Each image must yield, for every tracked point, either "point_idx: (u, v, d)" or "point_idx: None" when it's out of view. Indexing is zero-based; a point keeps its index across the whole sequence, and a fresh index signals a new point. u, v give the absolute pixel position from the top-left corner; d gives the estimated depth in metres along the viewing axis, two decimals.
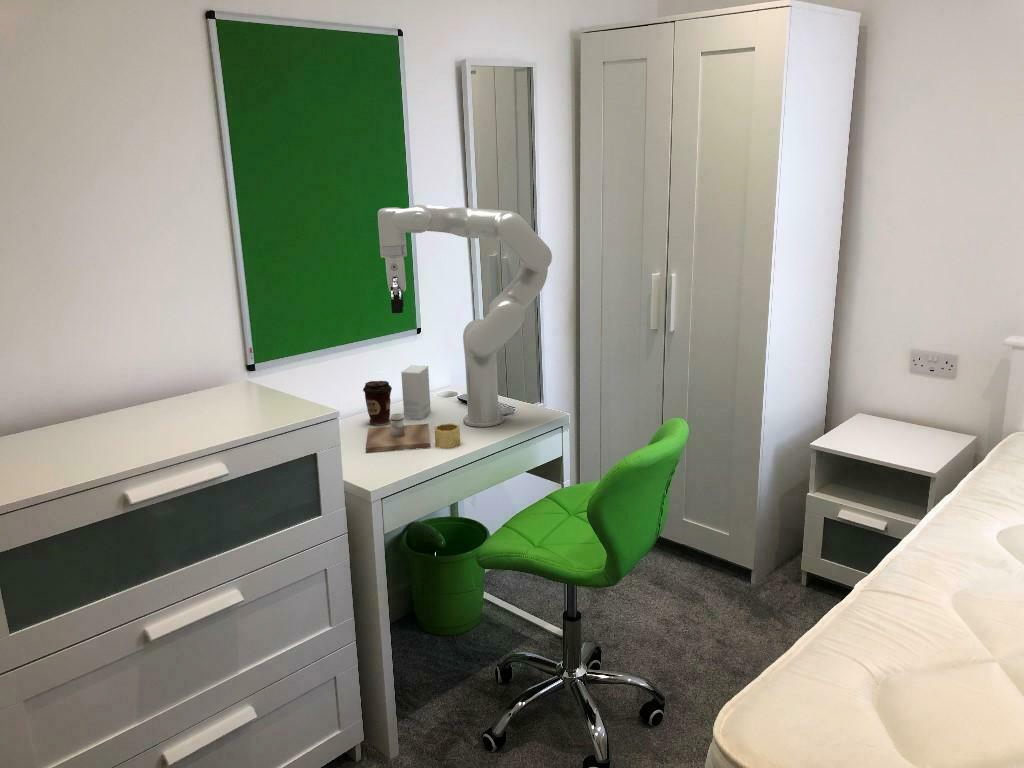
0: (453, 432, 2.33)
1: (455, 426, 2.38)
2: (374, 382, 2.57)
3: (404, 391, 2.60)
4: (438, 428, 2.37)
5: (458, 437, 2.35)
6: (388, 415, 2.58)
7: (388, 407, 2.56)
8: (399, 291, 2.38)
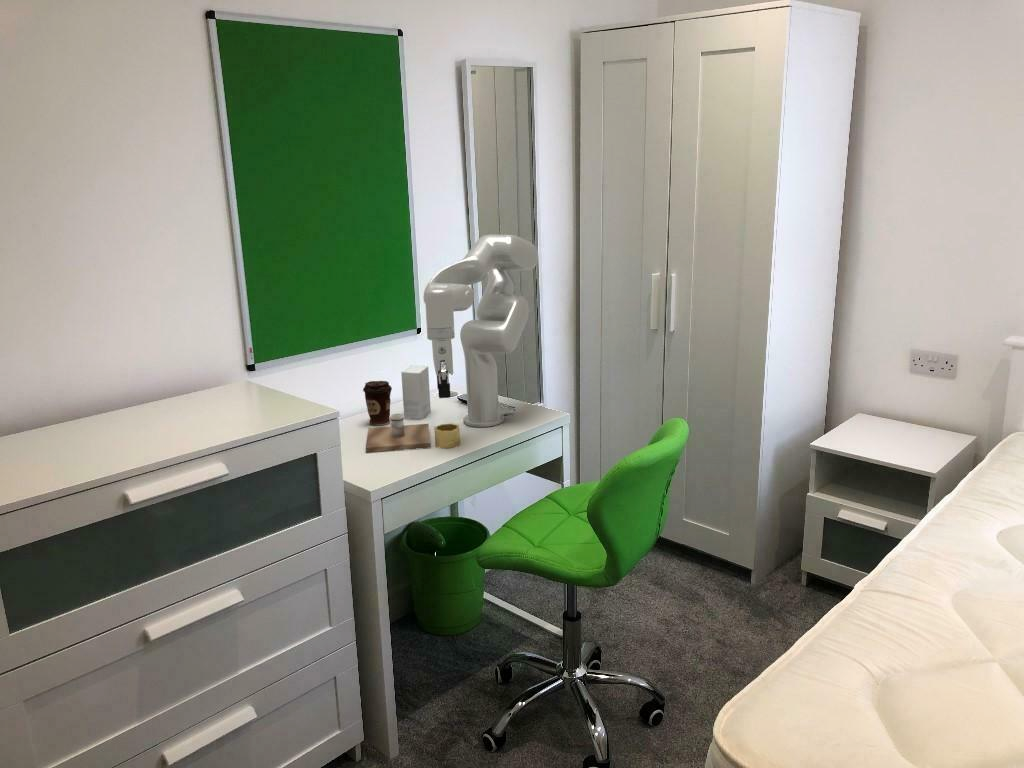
0: (453, 432, 2.33)
1: (455, 426, 2.38)
2: (374, 382, 2.57)
3: (404, 391, 2.60)
4: (438, 428, 2.37)
5: (458, 437, 2.35)
6: (388, 415, 2.58)
7: (388, 407, 2.56)
8: (447, 375, 2.26)
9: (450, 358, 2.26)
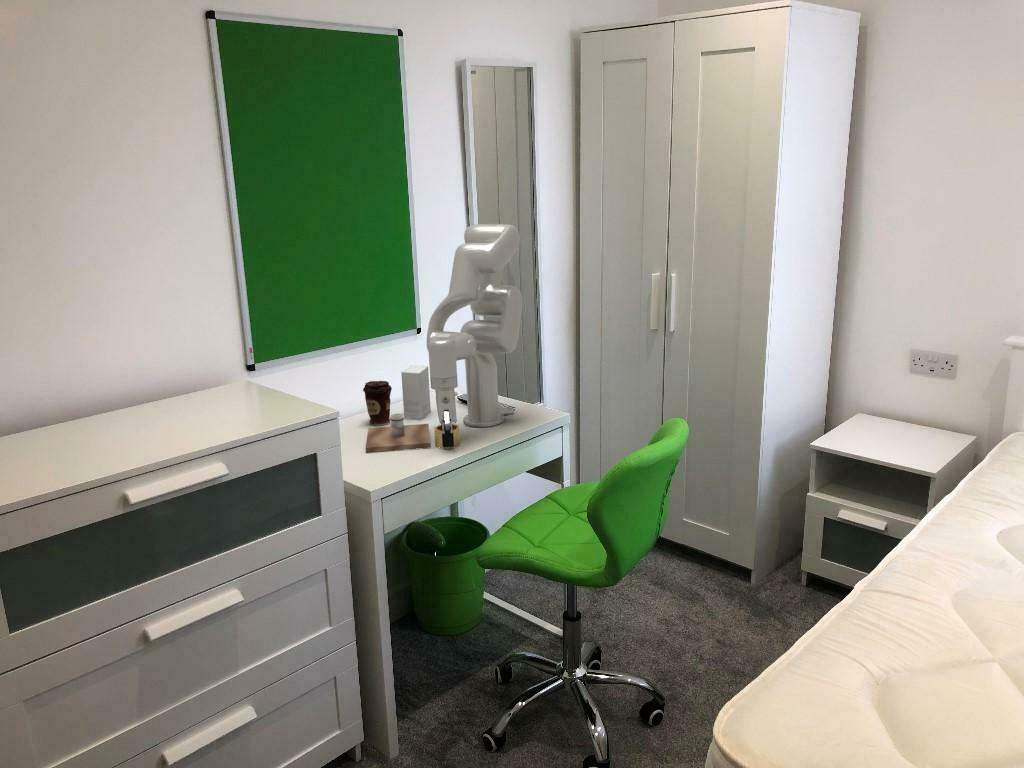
0: (453, 432, 2.33)
1: (455, 426, 2.37)
2: (374, 382, 2.57)
3: (404, 391, 2.60)
4: (438, 428, 2.37)
5: (458, 437, 2.35)
6: (388, 415, 2.58)
7: (388, 407, 2.56)
8: (450, 425, 2.31)
9: (453, 407, 2.29)
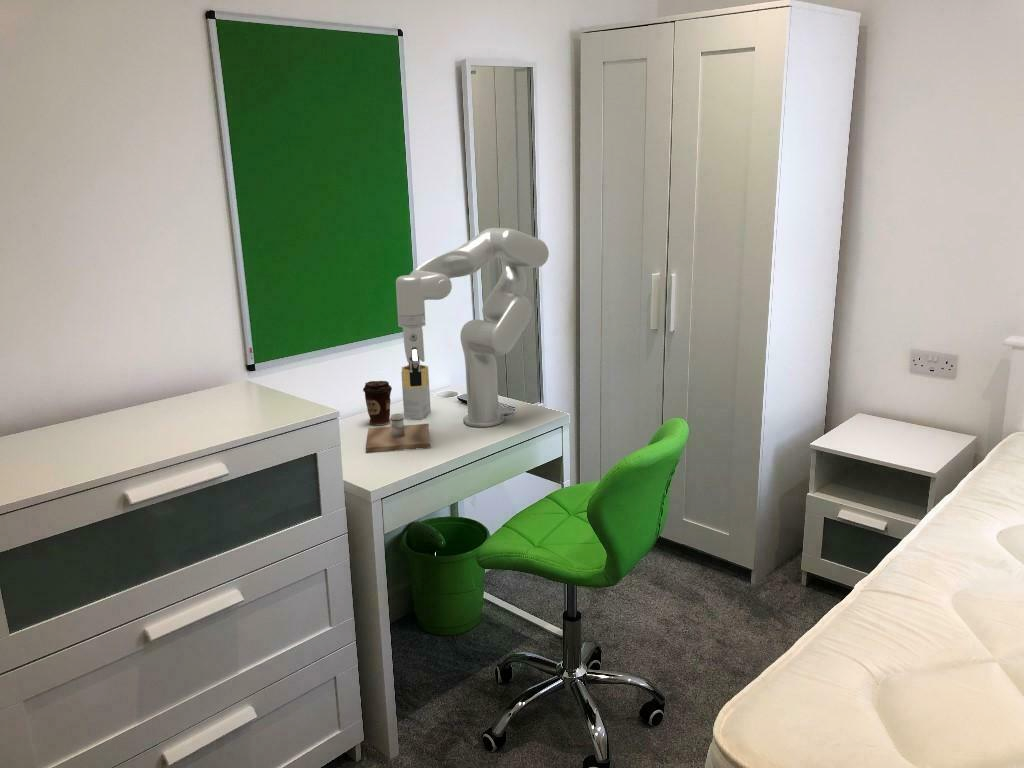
0: (421, 371, 2.31)
1: (423, 367, 2.36)
2: (374, 382, 2.57)
3: (404, 391, 2.60)
4: (405, 368, 2.35)
5: (426, 377, 2.33)
6: (388, 415, 2.58)
7: (388, 407, 2.56)
8: (418, 363, 2.29)
9: (421, 345, 2.28)
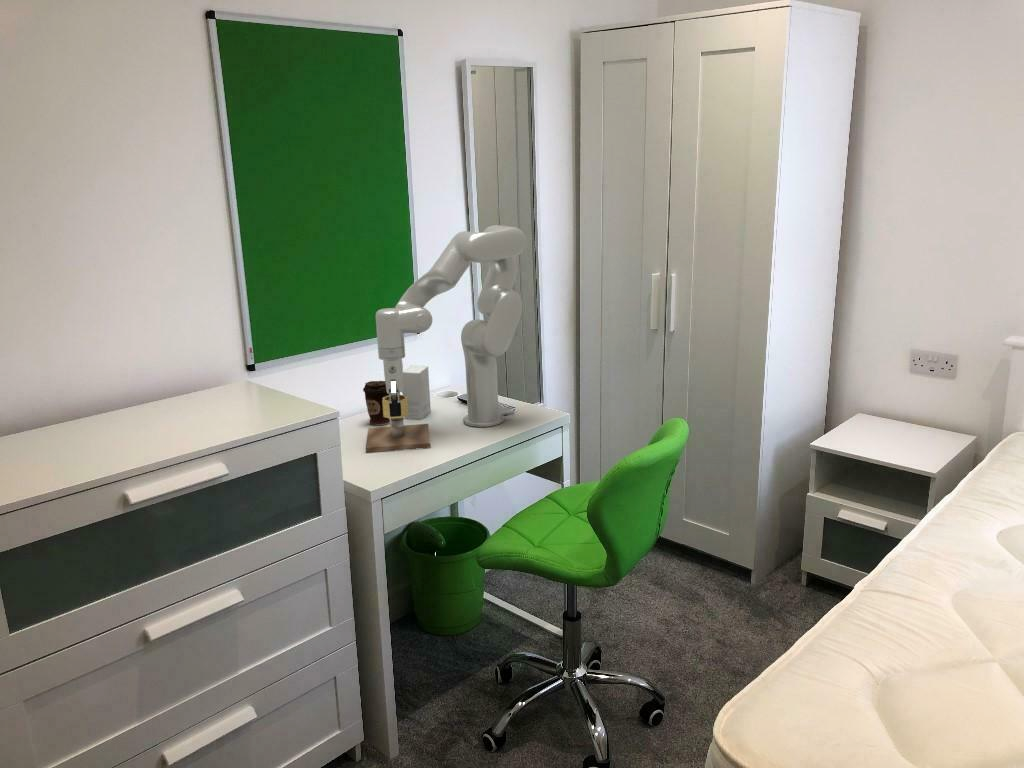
0: None
1: (403, 397, 2.41)
2: (374, 382, 2.57)
3: (404, 391, 2.60)
4: (386, 399, 2.40)
5: (406, 407, 2.38)
6: None
7: None
8: (397, 395, 2.34)
9: (400, 377, 2.33)
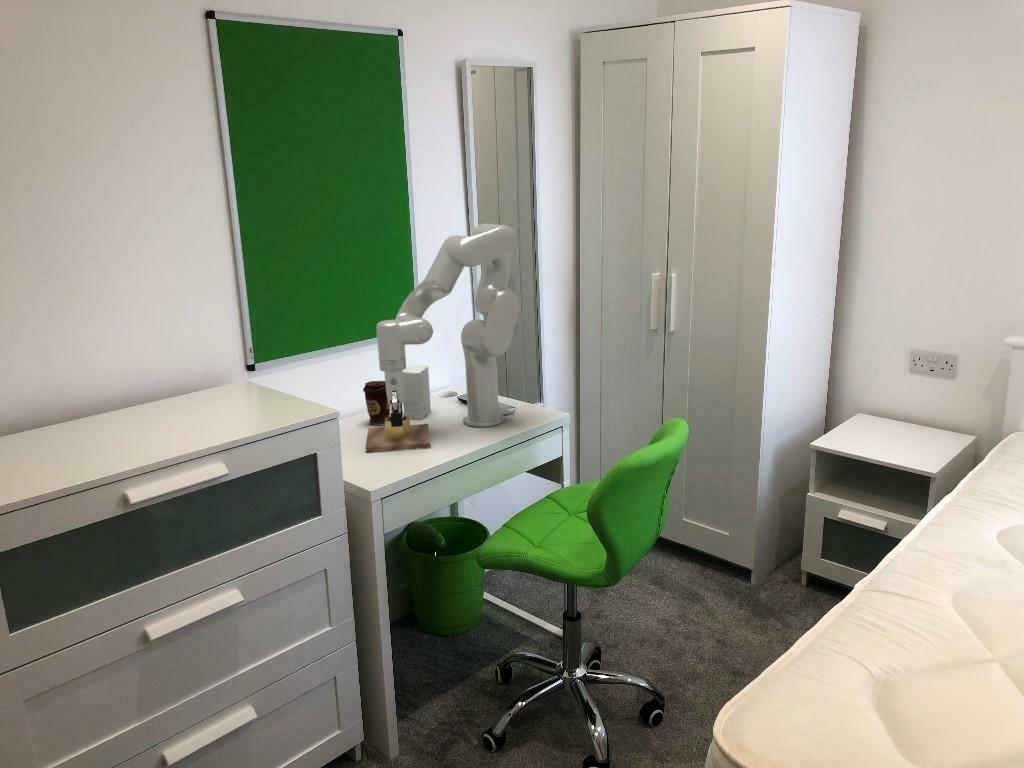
0: (403, 423, 2.38)
1: (406, 417, 2.42)
2: (374, 382, 2.57)
3: None
4: (389, 419, 2.42)
5: (408, 428, 2.40)
6: (388, 415, 2.58)
7: (388, 407, 2.56)
8: (398, 405, 2.34)
9: (401, 388, 2.33)
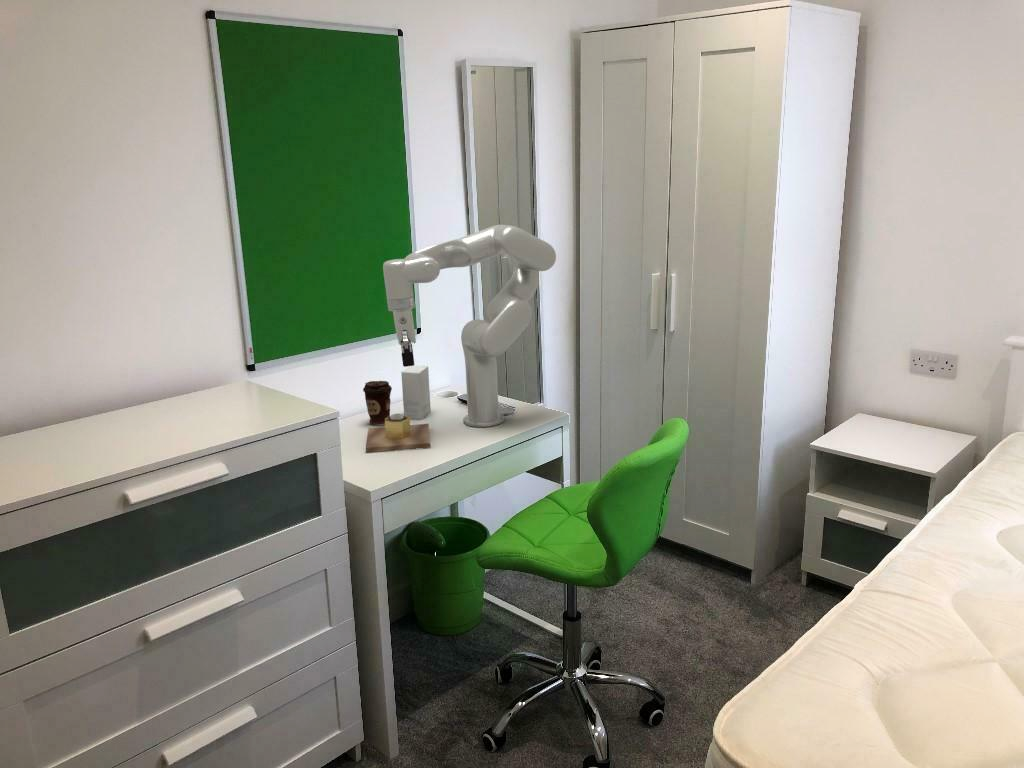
0: (403, 423, 2.38)
1: (406, 417, 2.42)
2: (374, 382, 2.57)
3: (404, 391, 2.60)
4: (389, 419, 2.42)
5: (408, 428, 2.40)
6: (388, 415, 2.58)
7: (388, 407, 2.56)
8: (409, 344, 2.34)
9: (411, 327, 2.33)
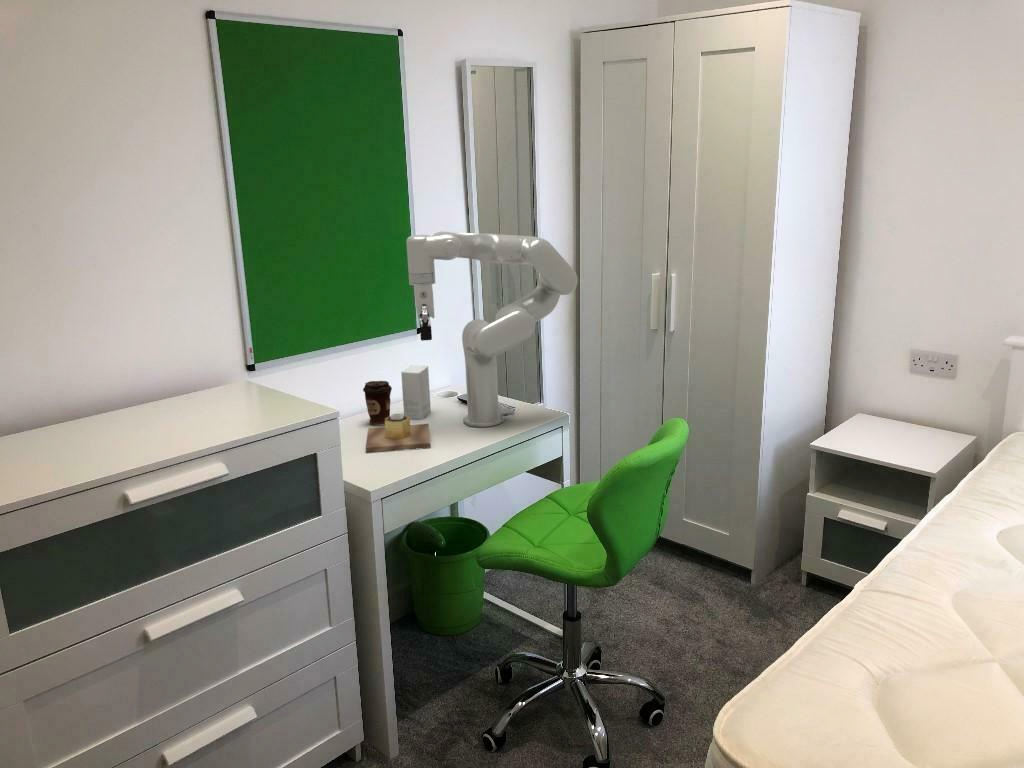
0: (403, 423, 2.38)
1: (406, 417, 2.42)
2: (374, 382, 2.57)
3: (404, 391, 2.60)
4: (389, 419, 2.42)
5: (408, 428, 2.40)
6: (388, 415, 2.58)
7: (388, 407, 2.56)
8: (428, 318, 2.38)
9: (431, 302, 2.37)
